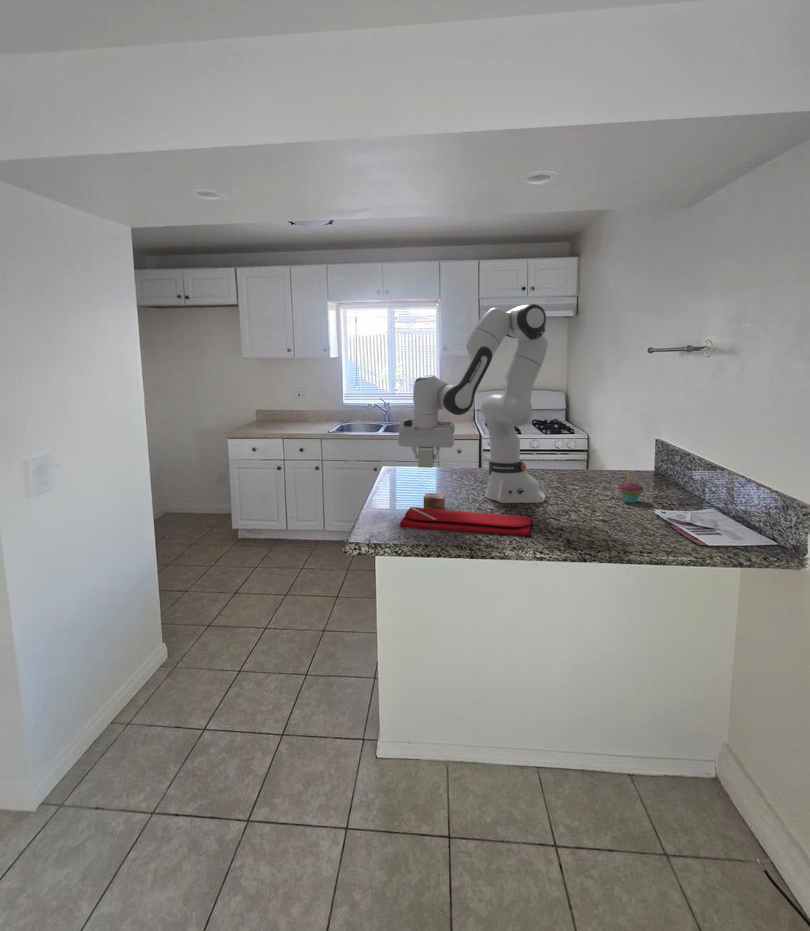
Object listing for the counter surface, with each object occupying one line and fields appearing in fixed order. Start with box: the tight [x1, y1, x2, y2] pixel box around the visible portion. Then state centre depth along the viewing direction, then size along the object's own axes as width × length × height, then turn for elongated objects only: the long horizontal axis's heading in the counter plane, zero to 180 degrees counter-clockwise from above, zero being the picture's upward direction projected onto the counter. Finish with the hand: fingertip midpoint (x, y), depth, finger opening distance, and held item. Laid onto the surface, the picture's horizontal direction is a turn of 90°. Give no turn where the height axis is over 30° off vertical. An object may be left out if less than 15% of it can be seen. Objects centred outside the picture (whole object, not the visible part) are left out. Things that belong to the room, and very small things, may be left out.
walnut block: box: [423, 492, 446, 510], centre depth 199 cm, size 7×7×5 cm
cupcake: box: [618, 470, 644, 504], centre depth 204 cm, size 9×8×12 cm
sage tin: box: [417, 447, 435, 469], centre depth 202 cm, size 5×5×7 cm
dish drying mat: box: [399, 506, 532, 536], centre depth 181 cm, size 16×41×4 cm, turn 76°
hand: (426, 459), depth 202 cm, fingers closed on sage tin, 5 cm apart
